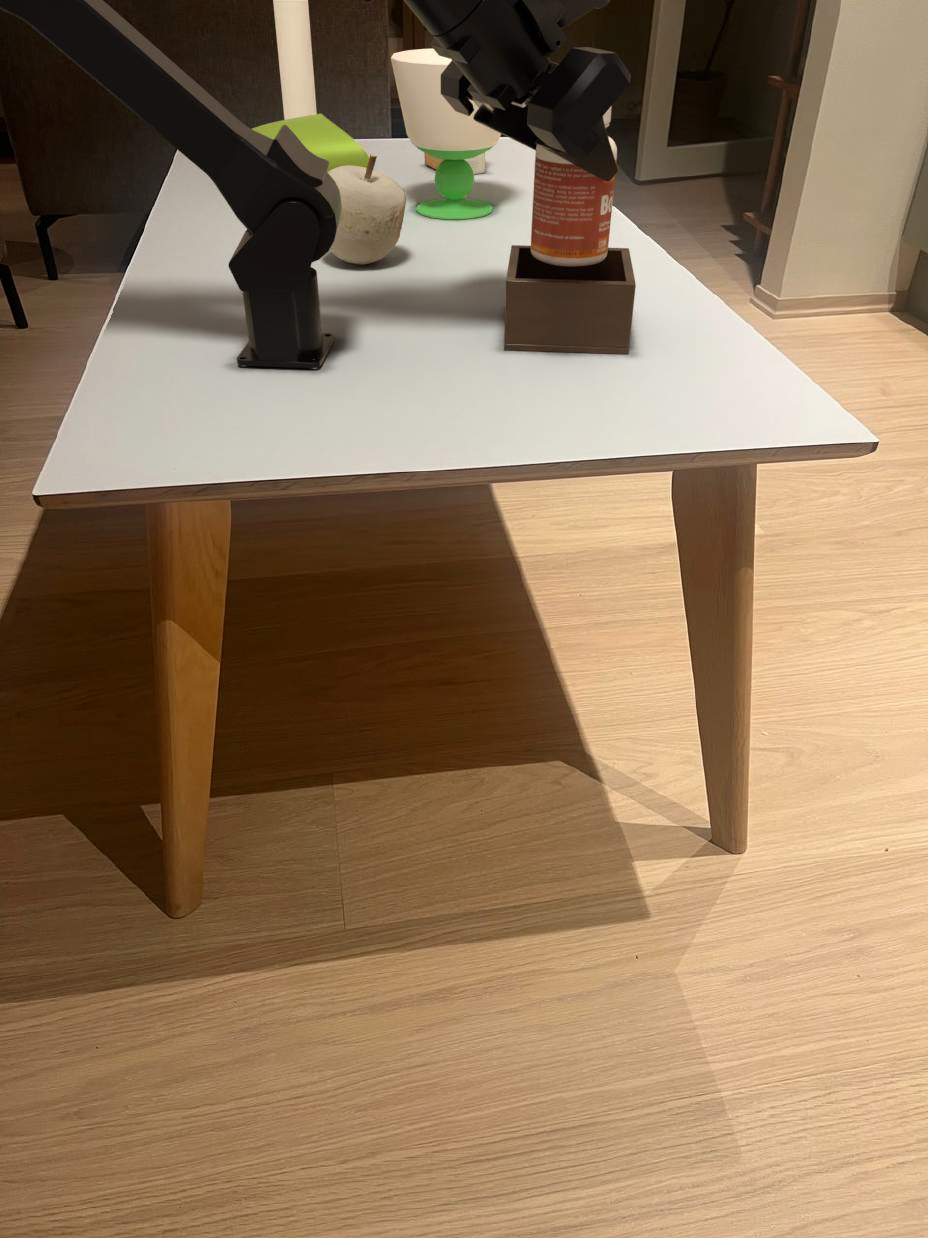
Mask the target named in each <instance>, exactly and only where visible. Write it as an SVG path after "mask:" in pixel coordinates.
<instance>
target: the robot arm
mask: <svg viewBox="0 0 928 1238" xmlns="http://www.w3.org/2000/svg"><path fill="white" fill-rule="evenodd" d="M362 1H363V2H364V3H366V4H369V3H370V4H371V3H372V2H373V1H374V0H362ZM403 2H404V3H405V4H406V5H407V6H408V8H409V9H410V10H411V12H412V13H413V14H414V15H415V16H416V17H417V19H418V20H419V22H420V23H421V24H422V25H423V26H424V27H425V29H426V30H427V31H428V32H429V33H430V35H431V36H432V37H433V39H432V40H431V42H429V46H431V49H434V50H435V51H436V53H437V54H438V55H439V56H442V57H446V58H449V59H452V61H451V62H450V63H449V65H448V66H447V67H446V69H445V70H444V71H443V72H442V74H441V95H442V96H443V97H444V98H445V99H446V101H447V102H448V103H449V104H450V105H451V106H452V108H453V109H454V110H455V111H456V112H459V113H462V114H464V115H467V116H470V115H471V114H472V112H473V111H474V108H473V104H472V103H471V102H470V101H469V99H470V100H473V101H474V103H475V104H476V105H477V106H478V107H479V109H478V110H477V111H476V113H475V115H474V120H475V121H476V122H478V123H480V124H482V125H485V126H487V127H489V128H491V129H493V130H495V131H497V132H499V133H501V135H503V136H505V137H507V138H509V139H511V140H513V141H515V142H517V143H519V144H521V145H523V146H526V147H528V148H529V149H532V150H533V151H535V152H536V146H537V145H539V146H541V147H542V148H544V149H546V150H548V151H550V152H552V153H554V154H555V155H558V156H559V157H561V158H563V159H565V160H567V161H569V162H571V163H573V164H574V165H576V166H578V167H580V168H582V169H584V170H586V171H587V172H589V173H591V174H593V175H595V176H597V177H599V178H601V179H603V180H605V181H607V182H609V181H610V180H611V179H612V178H613V177H614V176H615V177H616V175H617V174H618V165H617V162H615V158H614V155H613V152H612V148H611V145H610V142H609V138H608V136H609V134H608V131H607V127H606V128H605V124H604V120H603V116H604V114H605V113H606V112H607V111H608V109H609V108H610V107H611V108H612V107H613V105H614V104H615V102H616V101H617V100H618V99H619V97H621V95H622V94H623V92H624V91H625V90H626V89H627V88H628V87H629V85H630V84H631V78H632V74H631V73H630V71H629V70H628V68H627V67H626V65H625V63H623V61H622V60H621V58H620V57H619V55H618V54H617V52H613V51H609V50H604V49H599V48H596V47H591V46H590V47H589V46H584V47H581V46H580V47H571V48H570V50H569V51H568V52H567V53H566V54H565V56H564V57H563V58H562V59H561V60H560V62H559V63H558V62H554V61H551V60H550V58H549V57H550V56H551V54H552V53H553V54H555V53H557V52H558V51H559V49H560V48H561V47H562V46H563V44H564V43H565V41H567V39H568V37H567V36H566V34H565V33H564V31H563V30H562V29H564V28H566V27H568V26H569V25H571V24H573V23H574V22H576V21H577V20H579V19H580V18H582V17H584V16H585V15H587V14H588V13H590V12H591V11H593V10H595V9H596V10H600V9H602V8H604V7H605V6H607V5H608V4H609V3H610V2H611V0H403ZM0 10H1V11H3V12H5V13H8V14H10V15H12V16H13V17H15V18H18V19H19V20H21V21H23V22H24V23H26V24H27V25H28V26H30V27H31V28H32V29H34V31H36V32H37V33H38V34H39V35H40V36H42V37H43V38H44V39H45V40H47V41H48V42H49V43H50V44H51V45H52V46H54V47H55V48H56V49H57V50H58V51H60V52H61V53H62V54H63V55H64V56H65V57H67V58H68V59H69V60H70V61H71V62H73V63H74V64H75V65H76V66H78V67H79V68H80V69H81V70H82V71H84V73H86V74H87V75H88V76H89V77H91V79H93V80H94V81H95V82H97V84H99V85H100V86H102V87H103V89H105V90H106V91H107V92H109V93H110V94H111V95H112V97H114V98H115V99H116V100H118V101H119V102H120V103H121V104H122V105H124V106H125V107H126V108H127V109H128V110H130V111H131V112H132V113H133V114H135V116H137V117H138V118H140V119H141V121H142V122H144V123H145V124H146V125H148V126H149V127H150V128H151V129H152V130H154V131H155V132H156V133H157V134H158V135H159V136H160V137H162V138H163V139H164V140H165V141H167V143H169V144H170V145H171V146H172V147H174V148H175V149H176V150H177V151H178V152H179V153H180V154H182V155H183V156H184V157H186V158H187V159H188V160H189V161H190V162H191V163H193V164H194V165H195V166H196V167H197V168H198V169H200V170H201V171H202V172H203V173H204V174H206V176H208V177H209V179H210V180H211V181H212V182H213V183H214V185H215V186H216V188H217V189H218V191H219V193H220V195H221V196H222V197H223V198H224V200H225V202H226V203H227V204H228V206H229V208H230V209H231V211H232V212H233V214H234V216H235V217H236V218H237V220H238V221H239V222H240V223H241V224H242V225H243V227H244V228H245V229H246V230H245V231H244V234H243V235H242V237H241V239H240V240H239V242H238V245H237V247H236V249H235V251H234V252H233V254H232V255H231V258H230V260H229V262H228V269H229V271H230V273H231V275H232V277H233V279H234V281H235V283H236V285H237V287H238V289H239V290H240V291H241V292H242V299H243V306H244V314H245V322H246V329H247V336H248V342H247V344H245V346H244V348H242V350H241V352H240V353H239V354H238V356H237V357H236V364H237V365H238V366H242V367H266V368H267V367H269V368H271V367H273V368H296V369H297V368H298V369H299V368H300V369H318V368H320V367H321V366H322V364H323V363H324V360H325V359H326V357H327V355H328V353H329V352H330V349H331V347H332V346H333V344H334V342H335V334H334V333H332V332H331V333H329V332H323V330H322V329H323V328H322V317H321V305H320V293H319V279H318V271H317V269H315V268H314V267H312V264H313V263H314V262H318V261H320V260H321V259H322V258H323V257H324V256H325V255H326V254H327V253H329V252H330V250H329V249H330V248H331V246H332V244H333V242H334V240H335V236H336V232H337V228H338V224H339V220H340V215H341V209H342V205H341V196H340V191H339V188H338V186H337V184H336V182H335V181H334V180H333V178H332V177H331V176H330V175H329V174H328V173H327V169H328V166H329V161H328V160H325V159H322V158H320V157H317V156H316V155H314V154H313V153H312V152H310V151H309V150H308V149H307V148H306V147H305V146H304V145H303V144H302V142H301V141H300V140H299V139H298V138H297V136H296V135H295V134H294V133H293V132H292V131H291V130H290V129H289V127H288V126H286V125H283V126H282V127H281V129H280V130H279V132H278V134H277V135H276V137H275V139H274V140H273V139H271V138H269V137H267V136H265V135H263V134H260V133H258V132H256V131H254V130H252V128H250V127H248V126H247V125H246V124H244V123H243V122H242V121H240V120H239V118H238V117H236V116H235V115H234V114H233V113H231V112H230V111H229V110H228V109H227V108H226V107H225V106H224V105H222V104H221V102H219V101H218V100H217V99H215V98H214V96H212V95H211V94H210V93H209V92H207V90H206V89H204V88H203V87H202V86H201V85H199V83H197V82H196V80H194V79H193V78H192V77H190V76H189V75H188V74H187V73H186V72H185V71H184V70H183V69H182V68H180V67H179V66H178V65H177V64H176V63H175V62H174V61H173V60H171V59H170V58H169V57H168V56H167V55H166V54H165V53H163V51H161V50H160V49H159V48H158V47H157V46H155V44H153V42H151V41H150V40H149V39H147V38H146V37H145V36H144V35H143V34H142V33H141V32H140V31H138V30H137V28H135V27H134V26H133V25H131V24H130V23H129V21H127V20H126V19H125V18H124V17H123V16H122V15H120V14H119V13H118V12H117V11H116V10H115V9H113V7H111V6H110V4H108V3H107V2H106V1H104V0H0Z"/></svg>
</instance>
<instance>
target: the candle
mask: <svg viewBox="0 0 928 1238" xmlns="http://www.w3.org/2000/svg"><path fill="white" fill-rule="evenodd" d="M272 4H273V12H274V24H275V34H276V35H275V36H276V45H277V53H278V54H277V56H278V65H279V74H280V75H279V76H280V86H281V98H282V107H283V108H282V109H283V118H284V119H283V120H287V119H292V118H297V117H303V116H309V115H315V114H318V112H317V100H316V86H315V73H314V61H313V48H312V35H311V21H310V10H309V0H272Z"/></svg>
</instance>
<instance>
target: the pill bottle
mask: <svg viewBox="0 0 928 1238" xmlns="http://www.w3.org/2000/svg"><path fill="white" fill-rule="evenodd" d="M603 120H604V124H605V128H606V129H607V128H608V127H609V126H610V123H611V121H612V106H611V107H610V108H609V109H608V111H607V112H606V113H605V114H604V116H603ZM608 138H609V142H610V145H611V148H612V152H613V155H614V158H615V162H616V163H617V162H618V161H617V160H618V148H617V144H616V142H615V141H614V139H613V138H612V137H610V136H609V135H608ZM534 155H535V156H534V170H533V171H534V175H533V176H534V177H533V191H532V192H533V195H532V212H531V213H532V214H531V230H530V231H531V233H530V246H531V253H532V255H533V256H534V257H535V258H536V259H538V260H540V261H542V262H545V263H548V264H552V265H557V266H587V265H593V264H597V263H599V262H601V261H603V260H604V259H605V258H606V256H607V252H608V248H609V244H610V243H609V242H610V234H611V222H612V213H613V204H614V203H613V202H614V194H615V193H614V192H615V191H614V190H615V183H616V182H615V181H616V175H615V176H614V177H613V178H612V179H611V180H610V181H609V182H607V181H605V180H603V179H601V178H599V177H597V176H595V175H593V174H591V173H589V172H587V171H586V170H584V169H582V168H580V167H578V166H576V165H574V164H573V163H571V162H569V161H567V160H565V159H563V158H561V157H559V156H558V155H555V154H554V153H552V152H550V151H548V150H546V149H544V148H542V147H541V146H539V145H537V146H536V151H535V154H534Z"/></svg>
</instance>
